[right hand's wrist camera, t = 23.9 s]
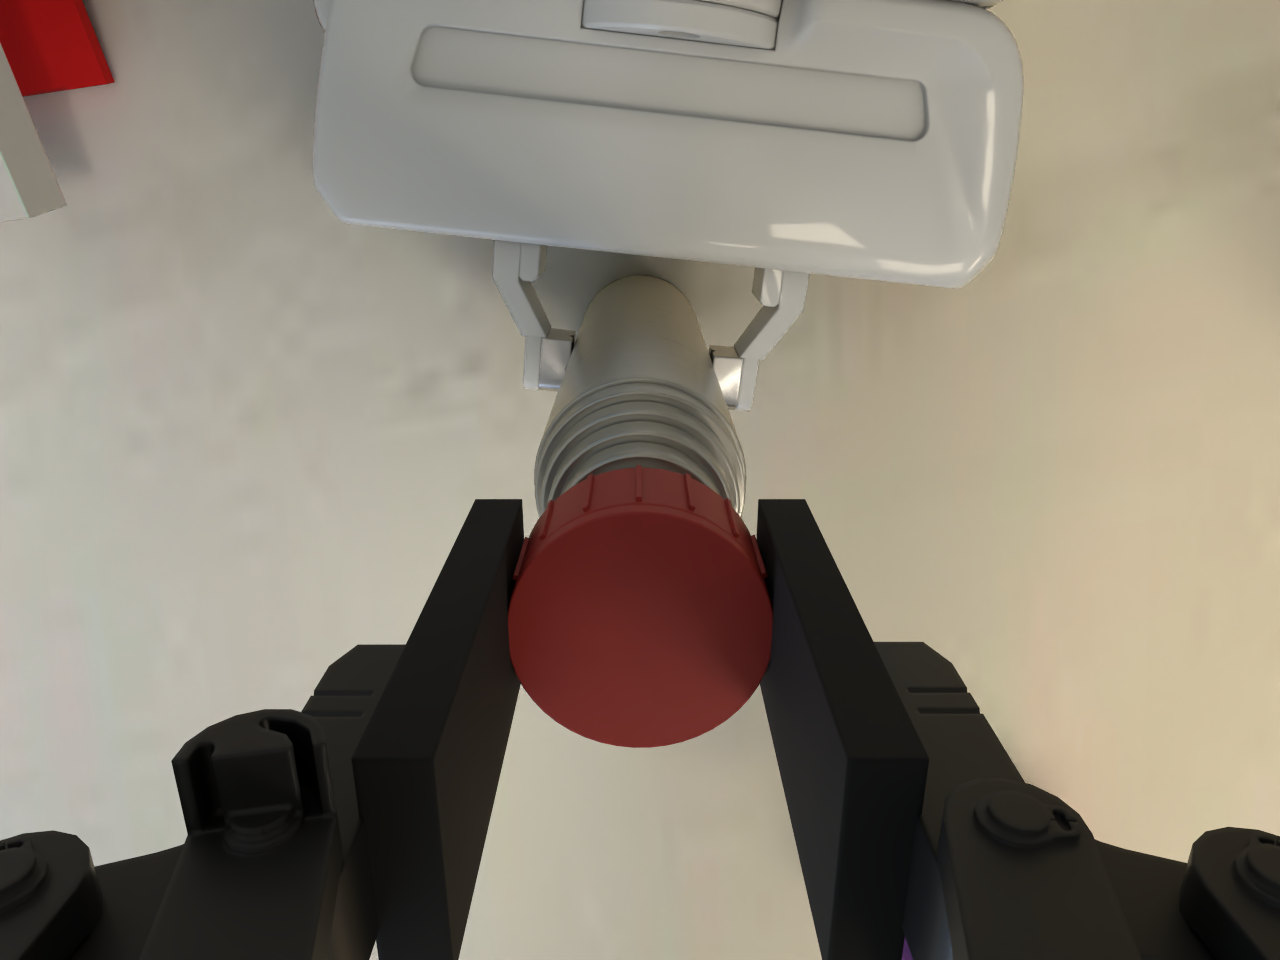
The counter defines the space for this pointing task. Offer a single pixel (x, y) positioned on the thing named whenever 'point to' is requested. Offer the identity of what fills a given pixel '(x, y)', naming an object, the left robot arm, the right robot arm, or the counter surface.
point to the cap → (640, 609)
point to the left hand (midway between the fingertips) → (638, 396)
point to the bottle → (640, 397)
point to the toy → (35, 64)
